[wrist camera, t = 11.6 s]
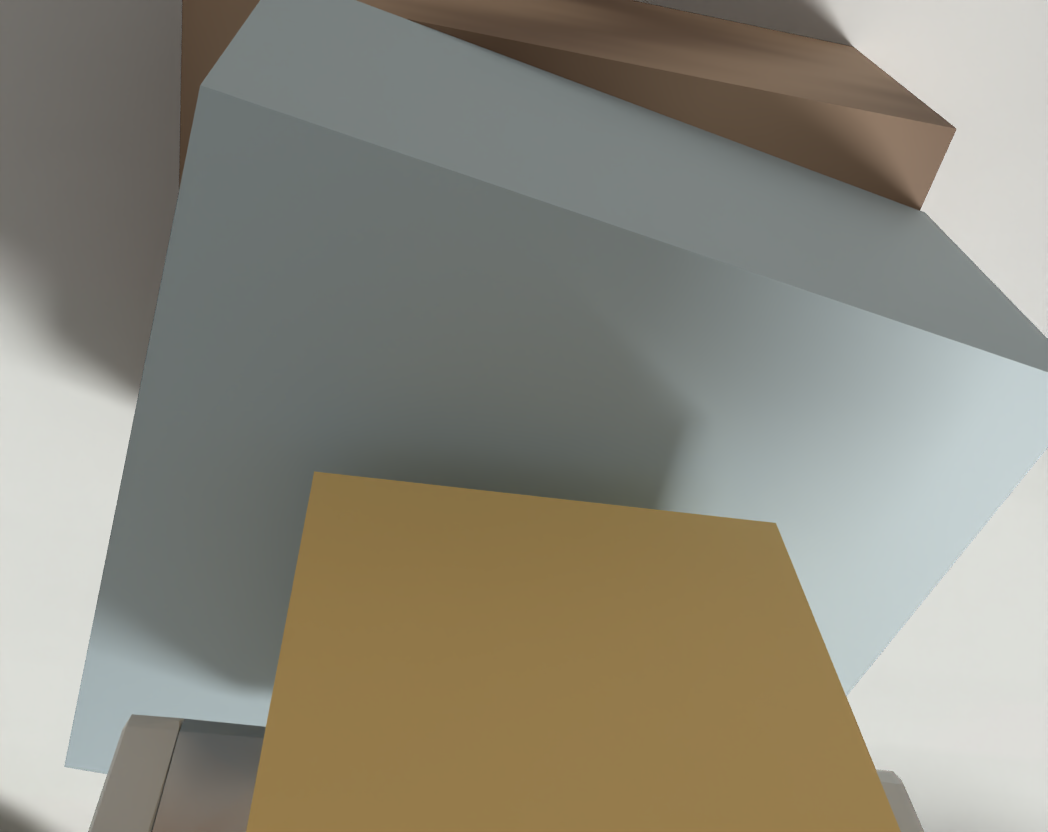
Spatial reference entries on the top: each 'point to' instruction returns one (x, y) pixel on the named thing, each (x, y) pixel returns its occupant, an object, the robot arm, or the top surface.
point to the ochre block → (551, 674)
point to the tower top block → (528, 348)
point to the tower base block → (672, 78)
